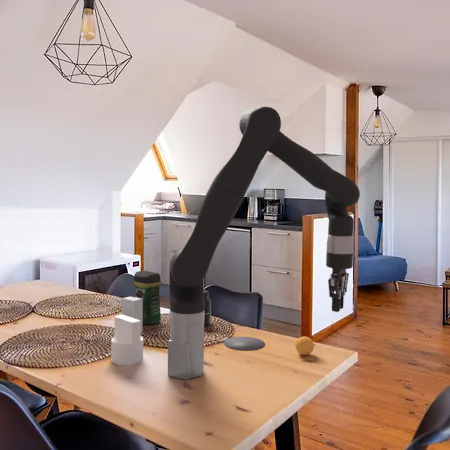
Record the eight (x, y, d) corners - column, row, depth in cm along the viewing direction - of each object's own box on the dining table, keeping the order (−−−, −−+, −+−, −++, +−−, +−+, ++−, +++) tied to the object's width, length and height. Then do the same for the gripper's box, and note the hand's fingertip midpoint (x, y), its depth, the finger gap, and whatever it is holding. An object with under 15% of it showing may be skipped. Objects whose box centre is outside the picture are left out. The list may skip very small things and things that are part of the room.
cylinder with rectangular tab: (149, 359, 146) (149, 318, 145) (123, 367, 140) (123, 324, 139) (130, 351, 152) (130, 312, 151) (105, 359, 146) (105, 318, 145)
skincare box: (143, 333, 170) (143, 298, 169) (134, 336, 167) (134, 301, 166) (129, 330, 174) (129, 296, 172) (120, 333, 170) (120, 298, 169)
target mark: (254, 353, 153) (254, 352, 153) (216, 345, 159) (216, 345, 159) (271, 341, 165) (271, 340, 165) (235, 335, 171) (235, 334, 171)
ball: (310, 359, 149) (310, 340, 148) (292, 355, 152) (293, 337, 151) (316, 353, 154) (316, 335, 153) (298, 350, 156) (299, 333, 156)
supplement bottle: (208, 327, 179) (208, 293, 178) (189, 325, 180) (189, 292, 179) (212, 322, 186) (213, 289, 185) (194, 320, 187) (194, 288, 186)
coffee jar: (164, 322, 184) (164, 271, 183) (147, 326, 178) (148, 274, 177) (146, 317, 190) (146, 268, 189) (130, 321, 184) (130, 271, 183)
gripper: (346, 255, 137) (344, 317, 139) (358, 249, 150) (356, 306, 151) (319, 252, 141) (317, 313, 142) (333, 247, 153) (331, 303, 155)
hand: (337, 309), depth 147 cm, fingers open, 3 cm apart
